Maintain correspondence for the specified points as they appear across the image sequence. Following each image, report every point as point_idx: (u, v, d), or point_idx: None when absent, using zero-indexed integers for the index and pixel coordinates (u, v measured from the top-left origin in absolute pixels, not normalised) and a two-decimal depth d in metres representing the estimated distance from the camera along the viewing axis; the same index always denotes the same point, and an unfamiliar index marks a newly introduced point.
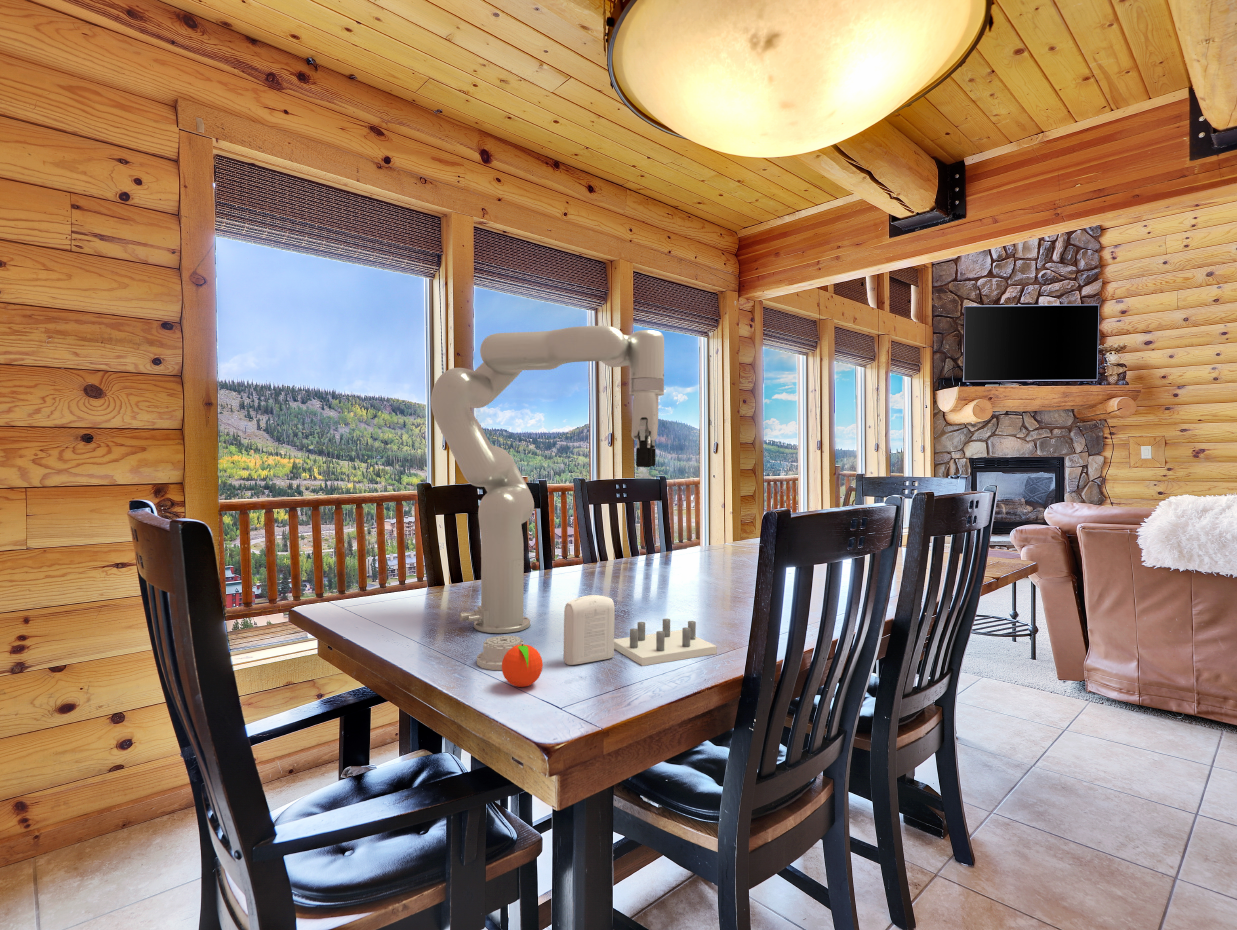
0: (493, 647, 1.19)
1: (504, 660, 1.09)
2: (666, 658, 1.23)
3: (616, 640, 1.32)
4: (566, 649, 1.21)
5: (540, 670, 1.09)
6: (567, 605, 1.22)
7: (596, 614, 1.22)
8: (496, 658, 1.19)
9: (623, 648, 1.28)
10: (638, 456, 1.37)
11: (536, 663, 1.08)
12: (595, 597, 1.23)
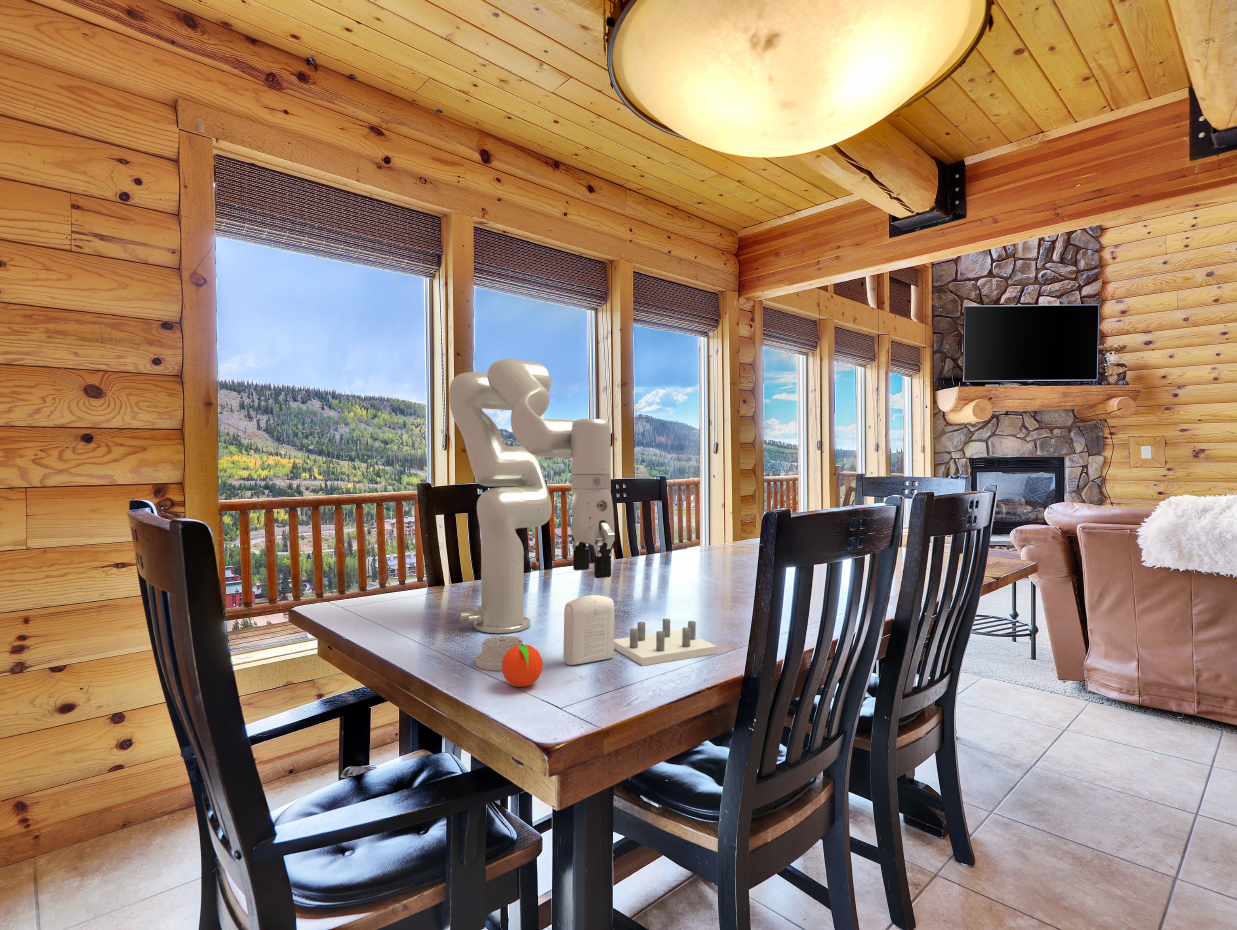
0: (492, 647, 1.19)
1: (504, 660, 1.09)
2: (666, 658, 1.23)
3: (616, 640, 1.32)
4: (566, 649, 1.21)
5: (540, 670, 1.09)
6: (567, 605, 1.22)
7: (596, 614, 1.22)
8: (494, 659, 1.19)
9: (623, 648, 1.28)
10: None
11: (536, 663, 1.08)
12: (595, 597, 1.23)
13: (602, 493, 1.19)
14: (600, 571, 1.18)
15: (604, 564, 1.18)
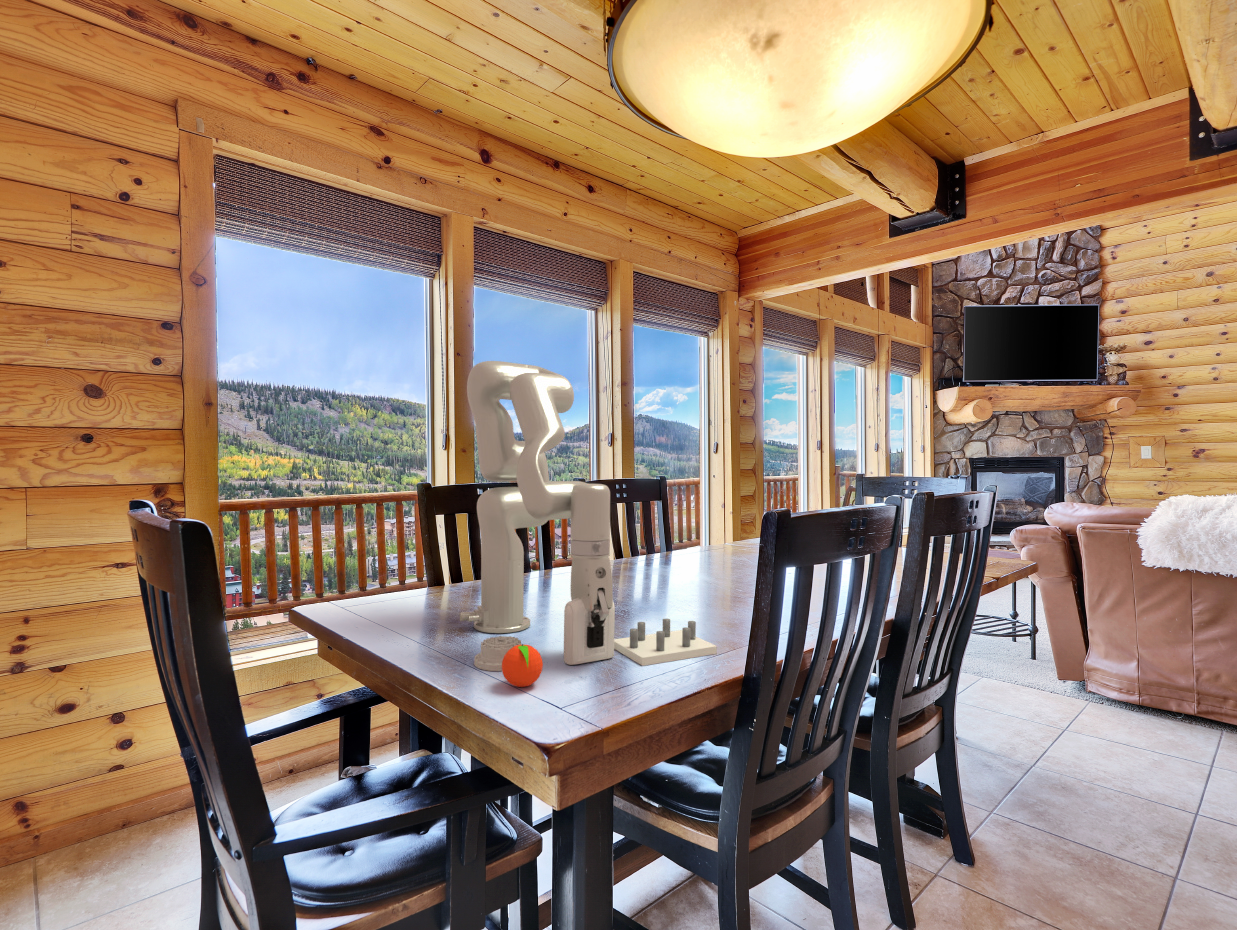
0: (490, 648, 1.19)
1: (504, 660, 1.09)
2: (666, 658, 1.23)
3: (616, 640, 1.32)
4: (566, 649, 1.21)
5: (540, 670, 1.09)
6: (567, 605, 1.22)
7: (596, 613, 1.22)
8: (493, 659, 1.18)
9: (623, 648, 1.28)
10: None
11: (536, 663, 1.08)
12: None
13: (601, 560, 1.20)
14: (593, 641, 1.21)
15: (597, 635, 1.21)
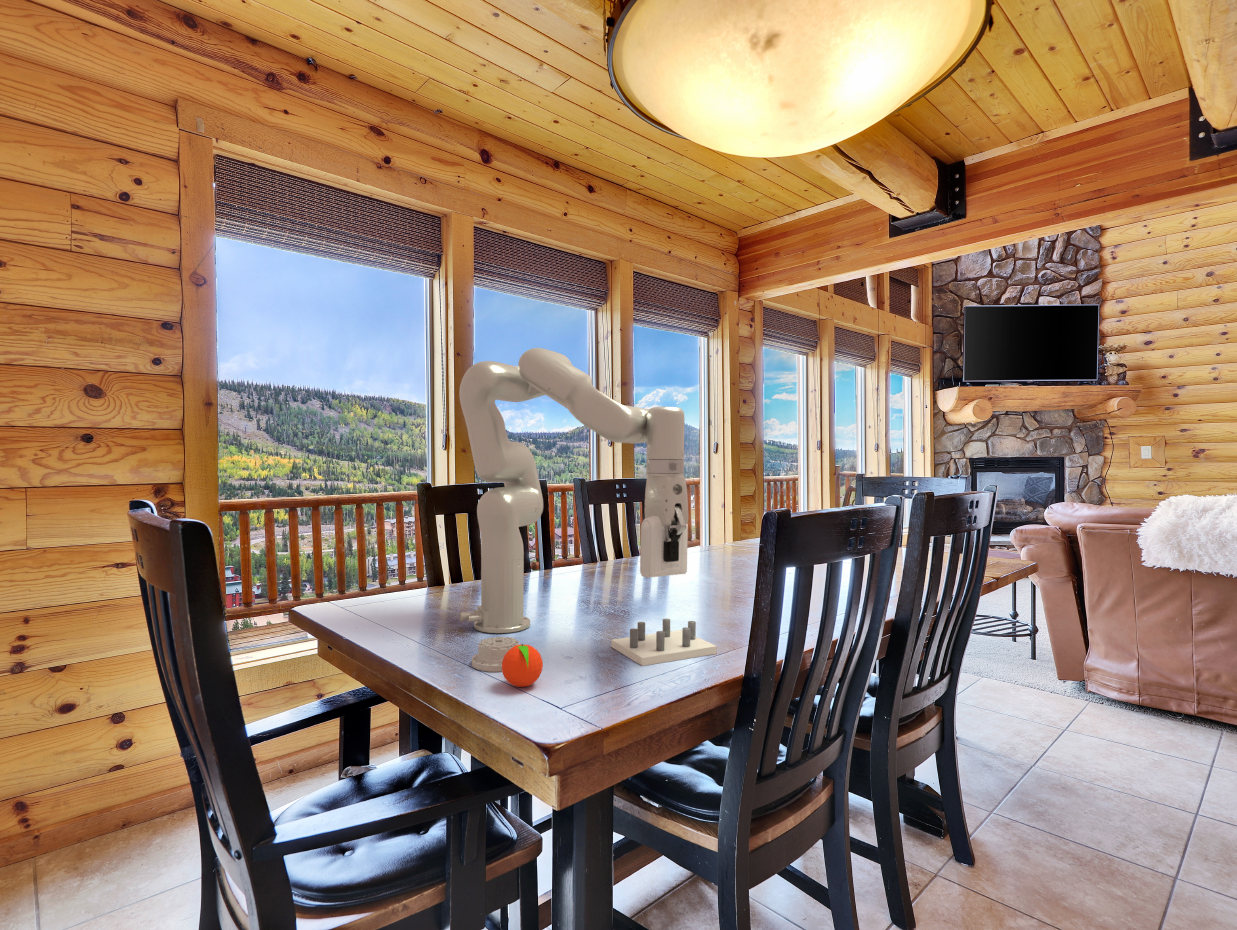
0: (488, 648, 1.18)
1: (504, 660, 1.09)
2: (666, 658, 1.23)
3: (616, 640, 1.32)
4: (644, 562, 1.27)
5: (540, 670, 1.09)
6: (644, 521, 1.28)
7: (671, 530, 1.28)
8: (490, 660, 1.18)
9: (623, 648, 1.28)
10: None
11: (536, 663, 1.08)
12: None
13: (678, 477, 1.26)
14: (669, 555, 1.27)
15: (673, 549, 1.27)
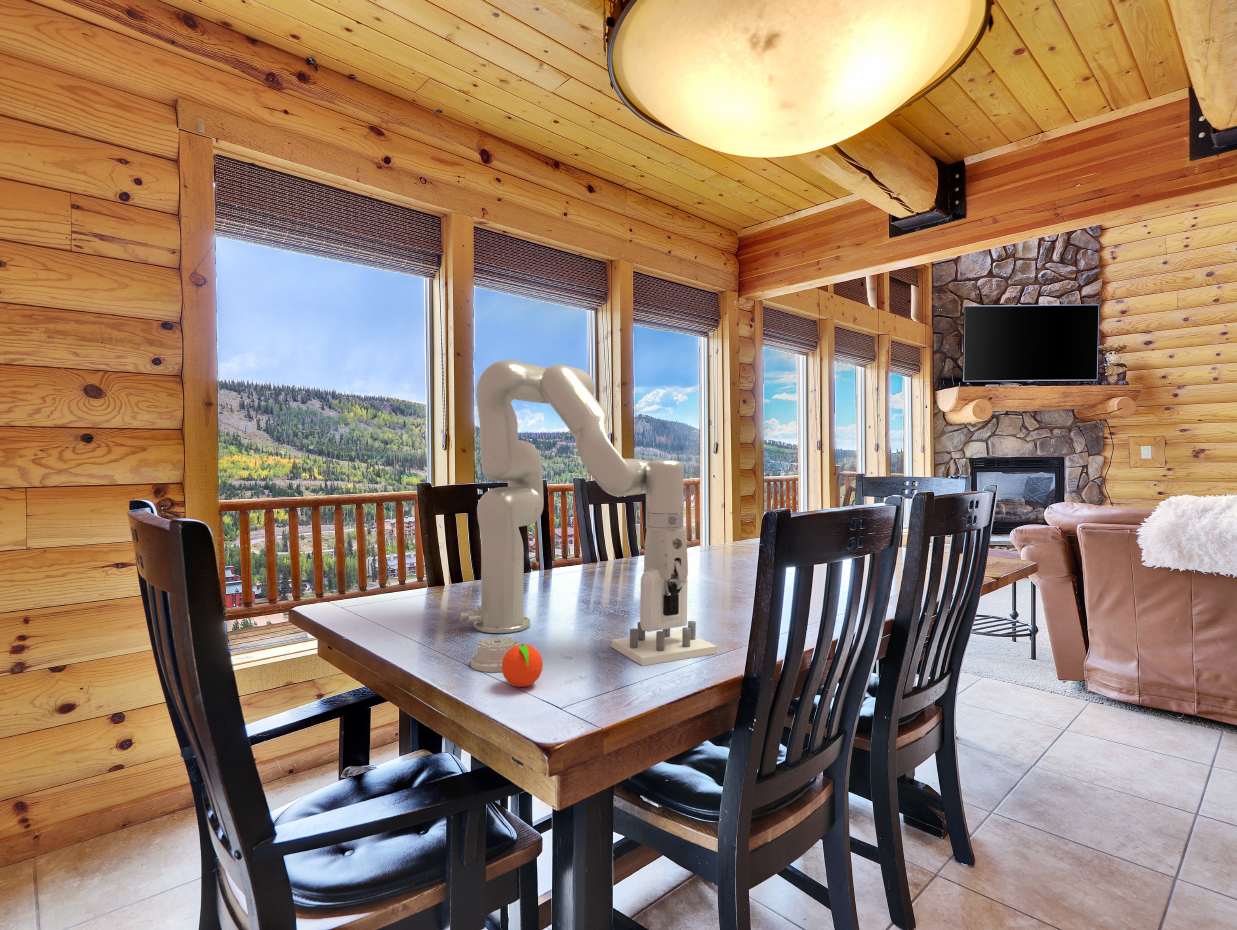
0: (487, 649, 1.18)
1: (504, 660, 1.09)
2: (666, 658, 1.23)
3: (616, 640, 1.32)
4: (644, 616, 1.27)
5: (540, 670, 1.09)
6: (644, 575, 1.28)
7: (671, 583, 1.28)
8: (489, 660, 1.18)
9: (623, 648, 1.28)
10: None
11: (536, 663, 1.08)
12: None
13: (677, 532, 1.26)
14: (669, 609, 1.27)
15: (673, 603, 1.27)
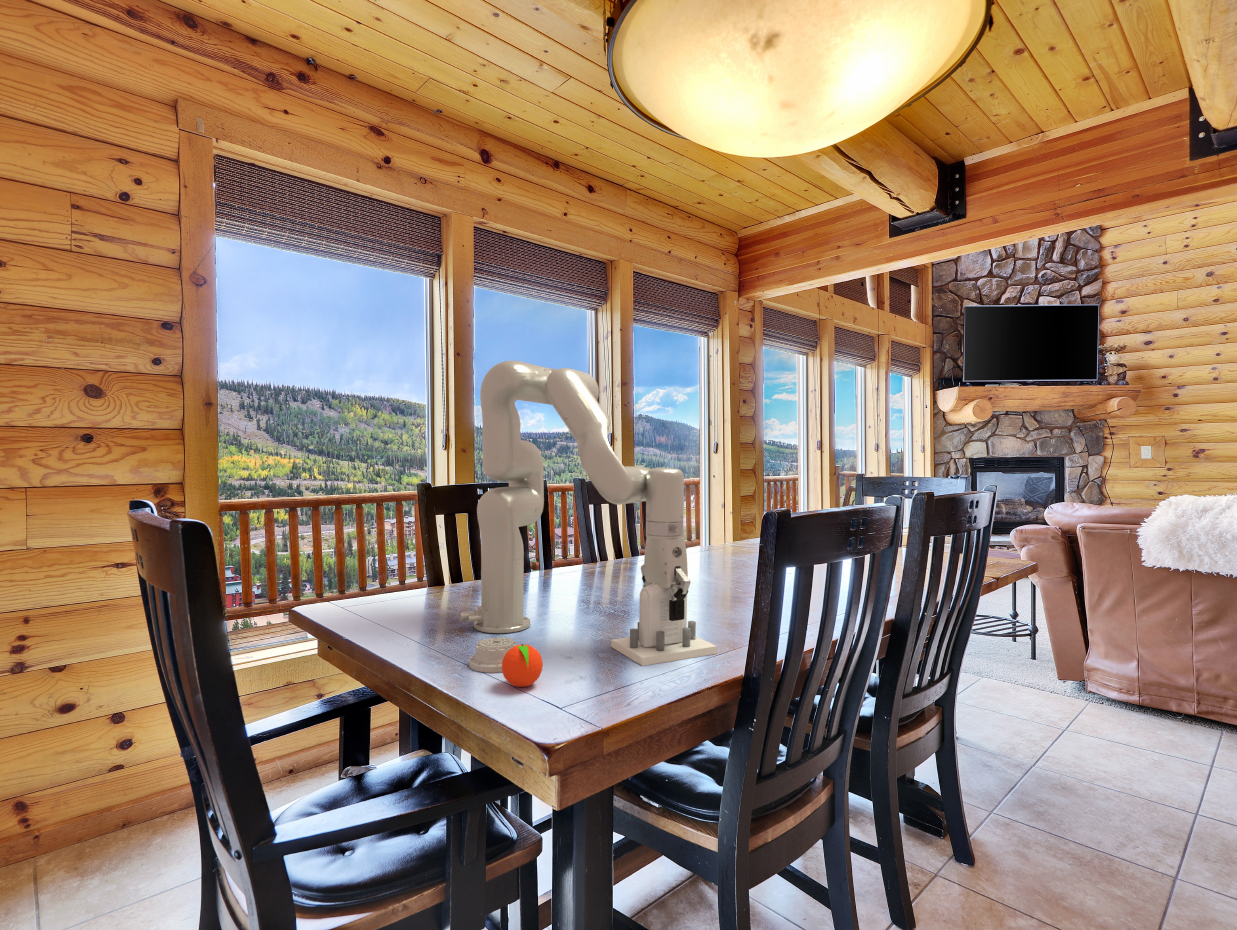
0: (485, 649, 1.18)
1: (504, 660, 1.09)
2: (666, 658, 1.23)
3: (616, 640, 1.32)
4: (642, 632, 1.27)
5: (540, 670, 1.09)
6: (643, 590, 1.28)
7: (670, 599, 1.28)
8: (488, 661, 1.18)
9: (623, 648, 1.28)
10: None
11: (536, 663, 1.08)
12: None
13: (677, 540, 1.26)
14: (675, 614, 1.25)
15: (679, 608, 1.25)
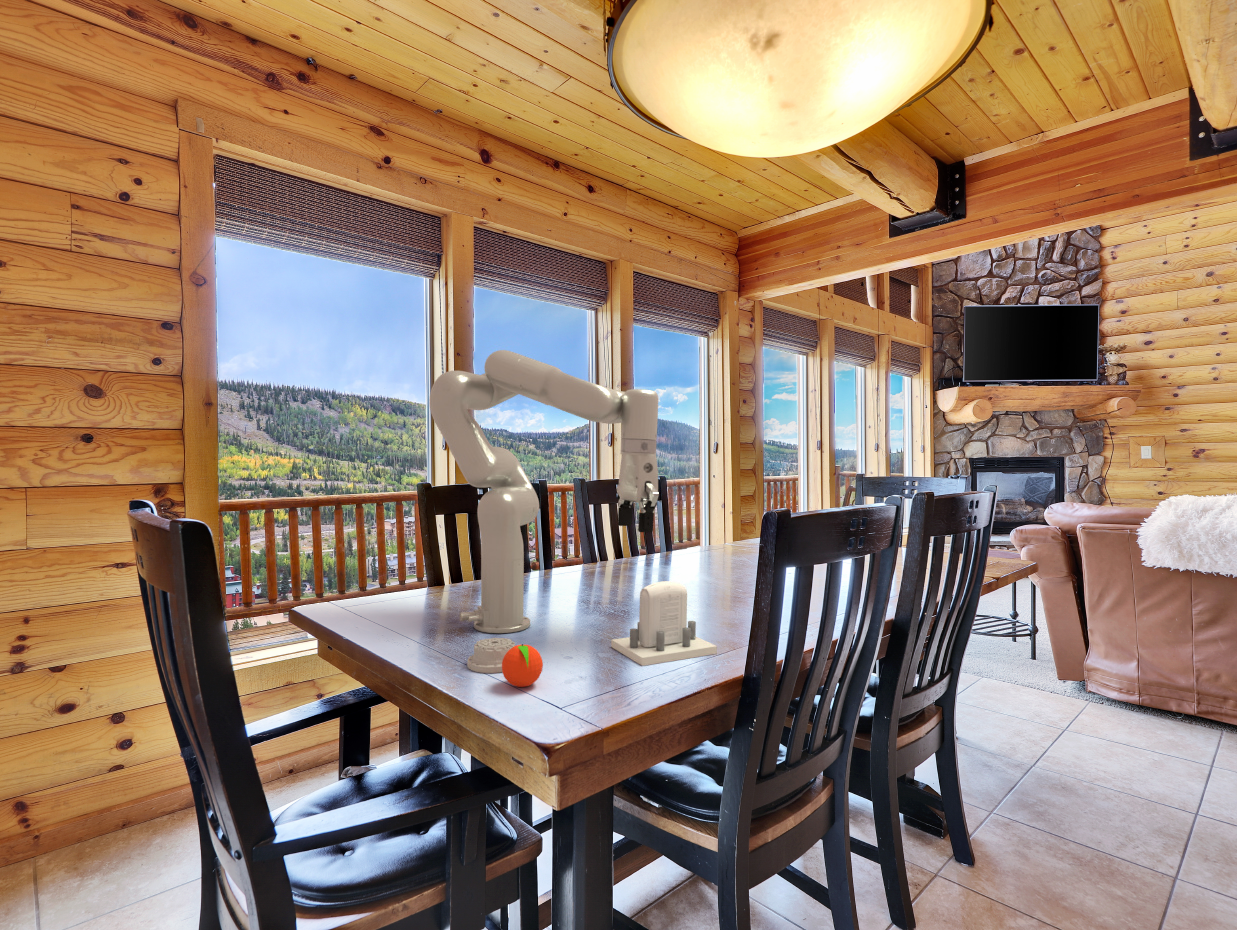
0: (483, 649, 1.18)
1: (504, 660, 1.09)
2: (666, 658, 1.23)
3: (616, 640, 1.32)
4: (642, 632, 1.27)
5: (540, 670, 1.09)
6: (643, 590, 1.28)
7: (670, 599, 1.28)
8: (486, 661, 1.17)
9: (623, 648, 1.28)
10: None
11: (536, 663, 1.08)
12: (669, 583, 1.30)
13: (649, 457, 1.33)
14: (643, 526, 1.32)
15: (647, 520, 1.32)
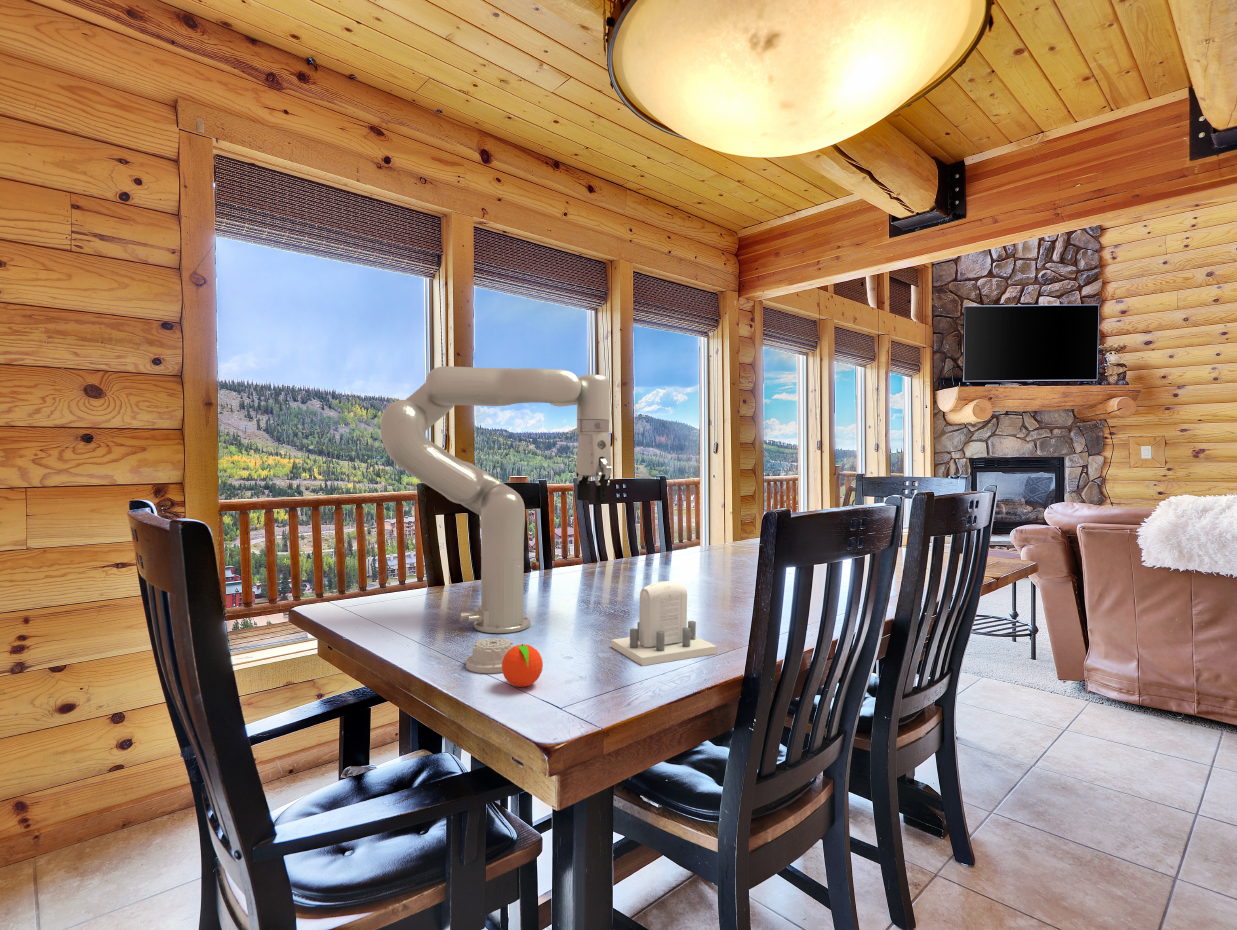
0: (482, 650, 1.17)
1: (504, 660, 1.09)
2: (666, 658, 1.23)
3: (616, 640, 1.32)
4: (642, 632, 1.27)
5: (540, 670, 1.09)
6: (643, 590, 1.28)
7: (670, 599, 1.28)
8: (484, 661, 1.17)
9: (623, 648, 1.28)
10: None
11: (536, 663, 1.08)
12: (669, 583, 1.30)
13: (602, 435, 1.47)
14: (599, 497, 1.46)
15: (602, 492, 1.46)
